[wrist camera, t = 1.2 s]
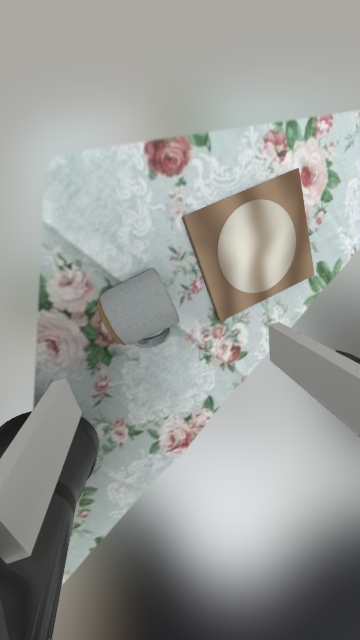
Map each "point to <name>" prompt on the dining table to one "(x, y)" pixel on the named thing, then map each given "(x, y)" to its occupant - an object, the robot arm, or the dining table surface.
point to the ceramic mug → (138, 310)
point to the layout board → (252, 244)
